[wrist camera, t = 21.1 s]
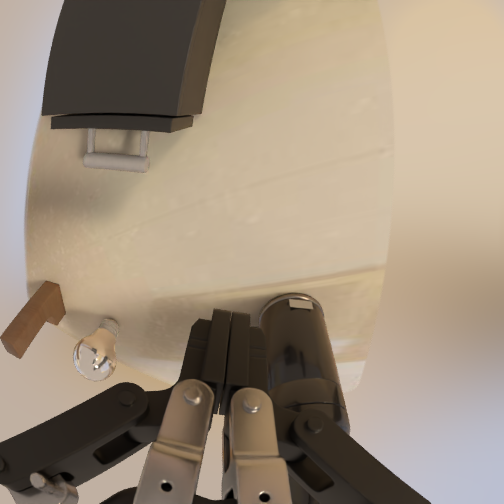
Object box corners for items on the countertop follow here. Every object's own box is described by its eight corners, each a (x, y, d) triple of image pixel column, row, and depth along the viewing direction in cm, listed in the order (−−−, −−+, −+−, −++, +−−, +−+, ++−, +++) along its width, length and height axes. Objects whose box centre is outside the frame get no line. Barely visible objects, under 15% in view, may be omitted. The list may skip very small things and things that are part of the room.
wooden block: (45, 280, 38) (-1, 337, 25) (59, 284, 38) (12, 345, 25) (53, 308, 41) (14, 365, 28) (66, 312, 41) (28, 372, 28)
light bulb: (124, 306, 40) (94, 364, 29) (137, 337, 43) (115, 393, 33) (90, 305, 40) (58, 356, 30) (104, 334, 43) (79, 386, 33)
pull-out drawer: (186, 166, 29) (164, 185, 22) (89, 156, 28) (50, 173, 21) (218, 4, 20) (205, -26, 13) (112, 8, 19) (77, -10, 12)
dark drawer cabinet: (201, 114, 27) (177, 116, 18) (92, 108, 26) (41, 115, 17) (229, -11, 19) (219, -52, 11) (117, -6, 18) (76, -31, 10)
